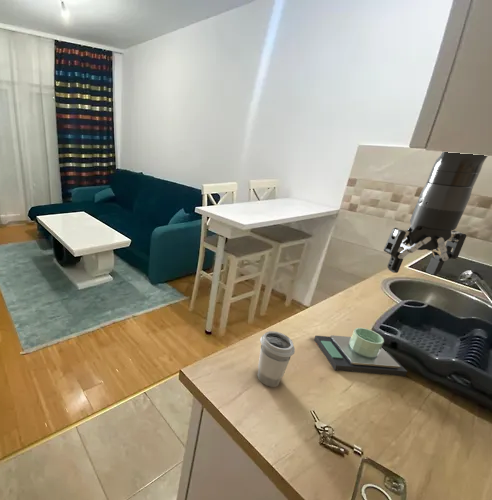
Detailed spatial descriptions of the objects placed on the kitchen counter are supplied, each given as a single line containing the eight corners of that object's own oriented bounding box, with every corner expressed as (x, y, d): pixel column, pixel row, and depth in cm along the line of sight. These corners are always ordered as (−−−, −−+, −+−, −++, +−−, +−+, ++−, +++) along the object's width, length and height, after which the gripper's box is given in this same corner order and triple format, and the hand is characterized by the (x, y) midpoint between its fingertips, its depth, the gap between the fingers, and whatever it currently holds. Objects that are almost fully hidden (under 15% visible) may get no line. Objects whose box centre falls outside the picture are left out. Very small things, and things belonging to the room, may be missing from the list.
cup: (290, 388, 65) (303, 346, 61) (269, 398, 63) (280, 355, 58) (266, 366, 71) (276, 326, 67) (245, 374, 68) (254, 334, 64)
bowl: (367, 342, 76) (373, 328, 74) (383, 359, 70) (390, 344, 68) (343, 340, 76) (348, 326, 74) (357, 357, 70) (363, 342, 69)
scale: (373, 347, 79) (377, 339, 78) (403, 379, 69) (408, 370, 68) (312, 342, 80) (315, 334, 79) (333, 373, 70) (337, 364, 69)
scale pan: (372, 340, 77) (373, 338, 77) (399, 368, 68) (400, 366, 68) (329, 336, 78) (330, 335, 78) (351, 364, 69) (351, 362, 69)
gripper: (419, 208, 59) (391, 278, 65) (494, 211, 58) (458, 282, 64) (392, 200, 66) (369, 264, 72) (459, 202, 65) (430, 267, 71)
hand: (411, 272), depth 68 cm, fingers open, 8 cm apart
